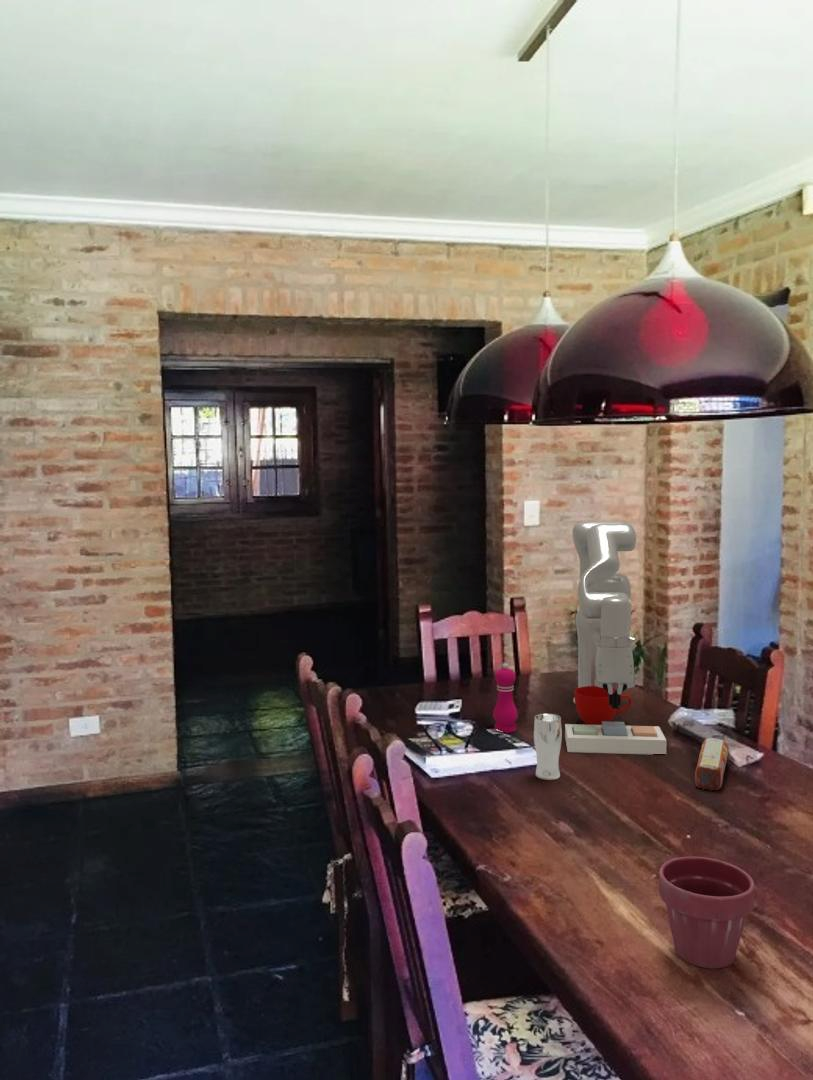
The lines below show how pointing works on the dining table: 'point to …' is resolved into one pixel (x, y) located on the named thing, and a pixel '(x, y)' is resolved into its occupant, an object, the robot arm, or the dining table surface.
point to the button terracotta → (643, 731)
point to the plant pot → (706, 908)
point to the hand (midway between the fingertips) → (614, 707)
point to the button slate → (614, 728)
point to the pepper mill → (505, 701)
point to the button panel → (615, 742)
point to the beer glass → (547, 745)
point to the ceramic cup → (596, 705)
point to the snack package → (711, 764)
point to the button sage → (584, 730)
